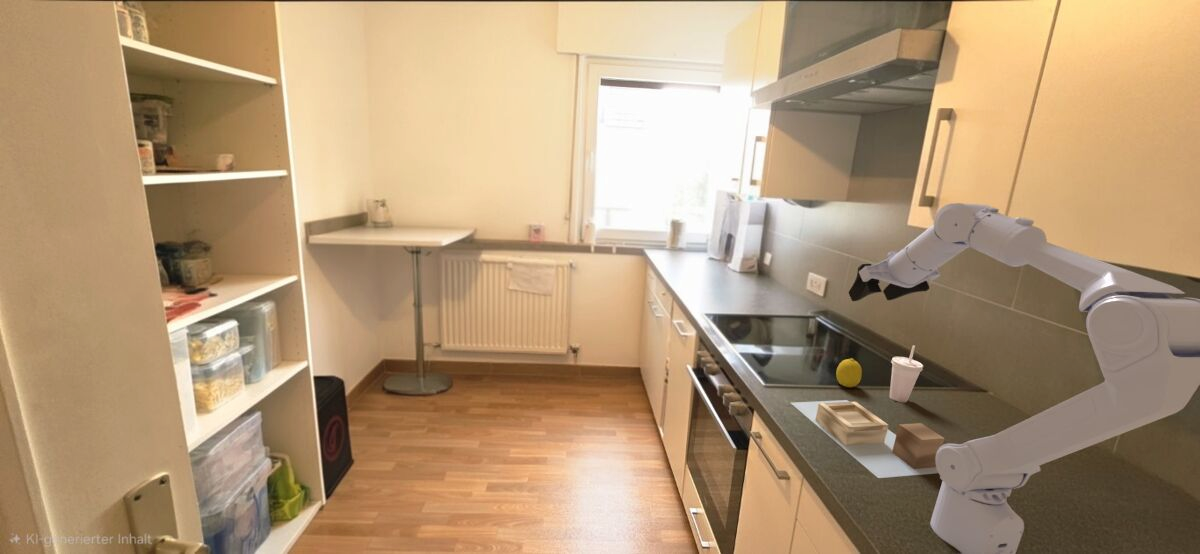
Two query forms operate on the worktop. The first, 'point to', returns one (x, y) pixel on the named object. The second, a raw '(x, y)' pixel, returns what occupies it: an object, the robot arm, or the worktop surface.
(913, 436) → the walnut block
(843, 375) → the lemon
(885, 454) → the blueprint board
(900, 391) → the smoothie
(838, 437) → the socket base
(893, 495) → the worktop surface
